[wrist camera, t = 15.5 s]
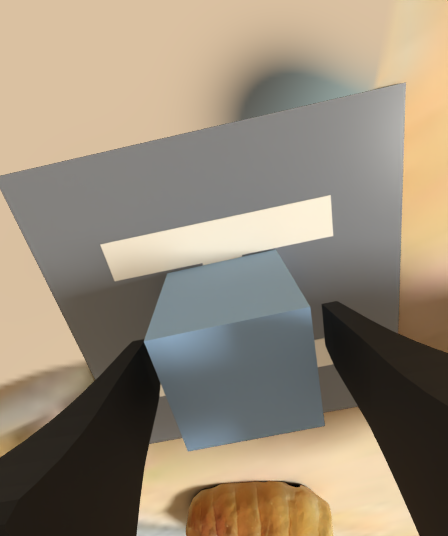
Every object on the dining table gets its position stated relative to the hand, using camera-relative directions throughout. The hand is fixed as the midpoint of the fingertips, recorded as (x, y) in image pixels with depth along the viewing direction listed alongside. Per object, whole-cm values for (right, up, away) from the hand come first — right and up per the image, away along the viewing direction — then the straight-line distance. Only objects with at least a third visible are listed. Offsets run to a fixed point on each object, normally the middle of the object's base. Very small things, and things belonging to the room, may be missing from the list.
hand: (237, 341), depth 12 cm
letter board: (0, +1, +3) cm, 3 cm away
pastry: (+2, -14, +10) cm, 17 cm away
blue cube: (0, +1, +2) cm, 3 cm away
